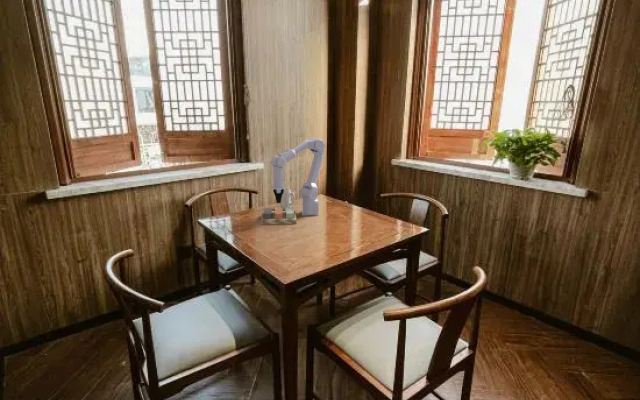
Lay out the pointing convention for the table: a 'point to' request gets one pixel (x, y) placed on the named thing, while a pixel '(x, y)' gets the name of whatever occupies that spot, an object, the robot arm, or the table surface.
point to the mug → (287, 199)
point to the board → (278, 221)
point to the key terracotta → (278, 213)
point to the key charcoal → (267, 213)
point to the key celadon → (289, 213)
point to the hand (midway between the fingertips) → (278, 202)
